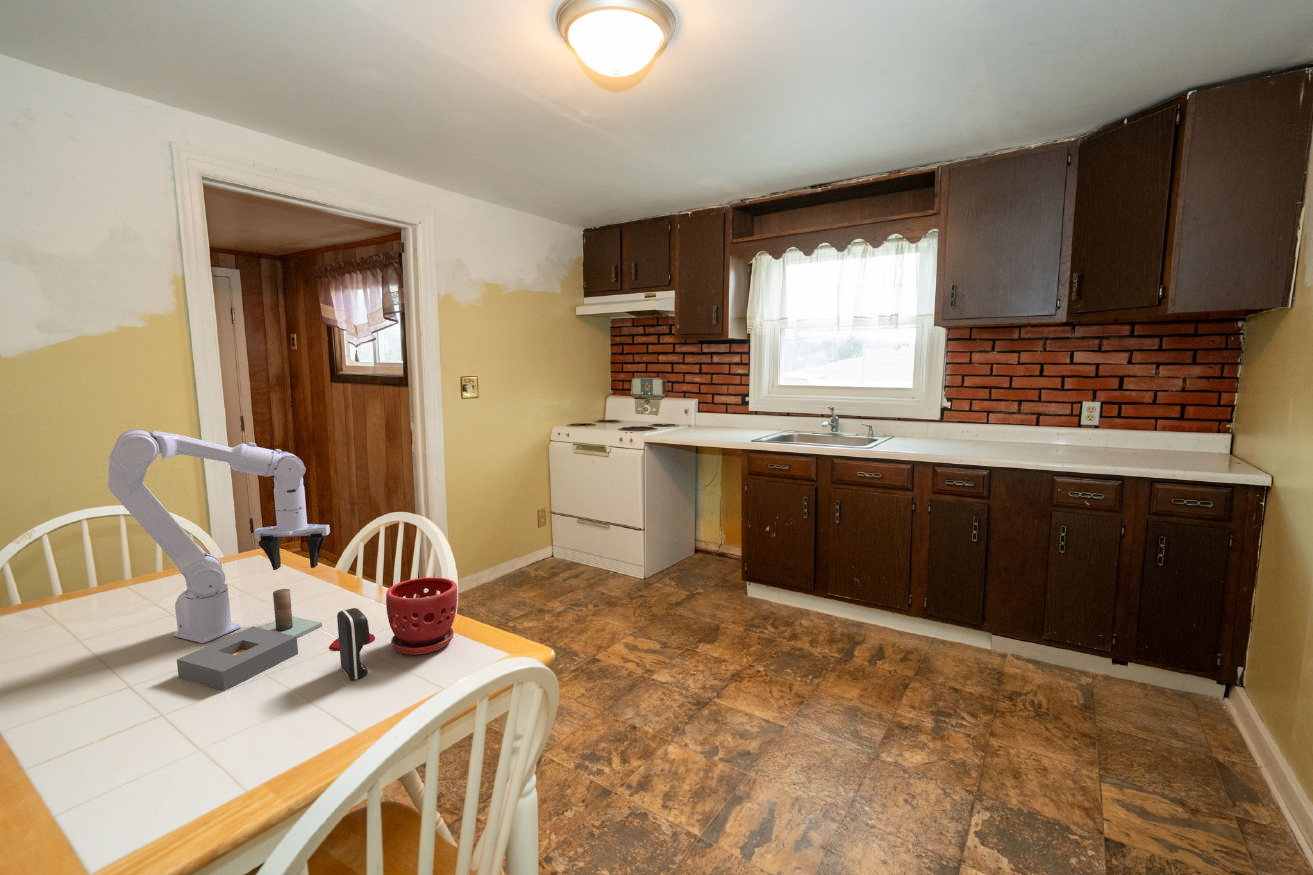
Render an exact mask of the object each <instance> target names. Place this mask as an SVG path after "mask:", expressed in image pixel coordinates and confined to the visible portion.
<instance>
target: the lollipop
mask: <svg viewBox="0 0 1313 875" xmlns="http://www.w3.org/2000/svg"><path fill="white" fill-rule="evenodd" d="M369 635H370V640H369V642H368V643H366V644H363V646H367V645H369V644H372V643H373V642H375V640H376V637H375V635H374V634H373V633H370V632H369ZM329 649H330V650H331V651H332V652H333V651H334V652H340V647H339V637H338V638H336V639H335V640H333V641H332V643H331V644H330V645H329Z"/></svg>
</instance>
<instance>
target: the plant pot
mask: <svg viewBox="0 0 1313 875" xmlns="http://www.w3.org/2000/svg"><path fill="white" fill-rule="evenodd" d="M425 589H427V591H426V592H425V591H424V590H425ZM437 591H438V592H440V593H437ZM416 594H417V595H419V597H414V596H415V595H416ZM385 596H386V598H385V605H386V615H387V619H388V620H387V621H388V624H389V627H390V629H391V631H392V633H393V636H392V638H391V645H392V647H393V648H394V649H395V650H396V651H397V652H399V653H402V654H406V655H412V656H417V655H423V654H428V653H433V652H436V651H438V650H441V649H443V648H444V647H445V646H447V645H448V644H449V643H450V642H451V641H452V640H453V638H454V635H455V632H454V630H453V629H454V628H452V626H453V623H454V621H455V617H456V614H457V609H458V608H457V607H458V585H457V583H456V582H455V581H454V580H453V579H450V578H445V577H437V576H436V577H434V576H432V577H431V576H430V577H429V576H428V577H427V576H426V577H418V578H412V579H407V580H404V581H400V582H398V583H396V584H393V585H392V586H390V587H389V588H388V589H387V590H386V595H385Z"/></svg>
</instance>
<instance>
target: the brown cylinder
mask: <svg viewBox="0 0 1313 875" xmlns="http://www.w3.org/2000/svg"><path fill="white" fill-rule="evenodd" d="M272 597H273V599H272V600H273V610H274V619H275V620H274V621H275V623H276V631H287V630H289V629H291V628H292V627H293V621H292V616H293V610H292V597H291V589H289V588H281V589H277V590H274V591H273V592H272Z"/></svg>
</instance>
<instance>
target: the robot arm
mask: <svg viewBox="0 0 1313 875" xmlns="http://www.w3.org/2000/svg"><path fill="white" fill-rule="evenodd" d="M159 454H161V459H162V460H163V459H168V458H171V457H175V456H179V455H184V456H190V457H195V458H200V459H201V458H202V459H207V460H212V461H218V462H224V463H228V465H229V466H230V468H231V469H232V470H233V471H237V472H242V473H247V474H252V475H257V476H263V477H265V478H266V477H270V476H272V477H273V476H274V477H273V482H274V488H273V497H274V507H275V508H274V510H275V520H276V525H274V526H265V527H258V528H256V529H254V531H253V532H254V539H256V540H257V539H259V541H258V546H259V547H260V548H261V549H262V551H263V552H264V553H265V555H266V557H267V558H268V560H269V562H270V565H271V568H272V570H273V571H278V569H280V568H281V567H282V565H281V564H282V562H281V559H282V558H281V554H280V553H281V550H280V549H281V546H280V545H281V537H302V536H303V537H304V536H305V537H306V536H309V537H307V538H306V539H305V540H306V541H305V542H306V545H307V547H308V551H309V552H308V553H309V566H310V568H311V569H315V568H316V567H318V564H319V557H320V554H321V549H322V547H323V544H324V541H325V539H326V538H327V536H328V535H329V534H330V533H331V531H330V530H331V528H330V524H315V523H308V516H307V507H306V506H307V505H306V491H305V486H304V478H303V477H304V475H305V473H306V469H307V468H306V466H305V464H304V462H303V460H301V458H299V457H298V456H296V455H295V454H294V453H290V452H288V451H282V449H278V448H275V449H269V448H264V447H259V446H257V443H255V442H251V441H249V442H248V443H247V444H246V443H244V442H243V443H239V444H238V445H235V446H232V447H231V446H228V445H224V444H223V445H222V444H218V443H215V442H211V441H206V440H203V439H198V438H194V437H191V436H190V437H189V436H188V435H187V436H186V435H182V434H177V433H174V432H173V433H171V432H166V431H165V432H164V431H159V430H153V431H152V432H151V431H150V430H148V429H144V428H132V429H128V430H126V431H124V432H122V433H121V434H120V435H119V437H118V438H117V440H116V441H115V443H114V445H113V447H112V450H111V452H110V453H109V456H108V460H109V462H108V463H109V465H108V481H107V482H108V484H107V485H108V489H109V492H110V493H111V494H112V495H113V496H114V497H115V498H116V499H117V500H118V502H119V503H120V504H121V505H122V506H123V508H125V509H126V511H128V512H129V514H130V515H131V516H132V517H133V518H134V519H135V520H136V521H137V523H138V524H139V525H140V526H141V527H142V528H143V529H144V530H145V531H146V533H147V534H148V536H150V537H151V538H152V539H153V540H154V542H156V544H157V545H158V546H159V547H160V548H161V549H162V551H163V552H164V553H165V554H166V555H167V556H168V558H170V559H171V560H172V562H173V563H174V565H175V566H176V568H177V569H178V571H179V572H180V574H181V575H182V576H183V577H184V579H185V586H186V590H184V591H183V592H181V593H180V594H179V596H177V598H176V600H175V605H174V607H175V608H174V609H175V616H176V617H175V618H176V619H175V620H176V627H177V631H175V632H174V633H172V635H173V637H176V638H181V639H184V640H187V641H188V640H189V641H191V642H196V643H200V644H206V643H208V642H210V641H212V640H215V639H218V638H219V637H222V636H225V635H227V634H229V633H232V632H235V631H236V630H239V629H241V628H242V627H243V625H242V624H240V623H234V622H232V616H231V607H230V606H231V605H230V597H229V586H228V584H227V583H226V574H225V572H224V570H223V565H222V563H221V561H220V559H219V558H218V557H216V556H215V555H211V554H209V553H207V552H206V551H205V550H204V549H203V548H202V547H201V546H200V545H198V544H197V543H196V542H195V541H194V539H193V538H192V537H191V535H189V534H188V532H186V530H185V529H184V528H183V527H182V526H181V525H180V523H178V520H176V519H175V518H174V516H173V515H172V514H171V513H170V512H169V511H168V510H167V509H166V507H165V506H164V504H162V502H161V501H160V500H159V499H158V498H157V497H156V496H155V494H153V492H152V491H151V490H150V489H149V488H148V487H147V485H146V484H145V483H144V479H145V477H146V473H147V471H148V468H149V467H150V466H151V465H152V463H153V462H154V461H155V460H156V459H157V457H158V455H159Z"/></svg>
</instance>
